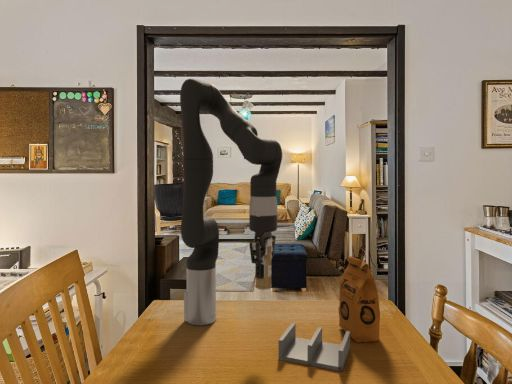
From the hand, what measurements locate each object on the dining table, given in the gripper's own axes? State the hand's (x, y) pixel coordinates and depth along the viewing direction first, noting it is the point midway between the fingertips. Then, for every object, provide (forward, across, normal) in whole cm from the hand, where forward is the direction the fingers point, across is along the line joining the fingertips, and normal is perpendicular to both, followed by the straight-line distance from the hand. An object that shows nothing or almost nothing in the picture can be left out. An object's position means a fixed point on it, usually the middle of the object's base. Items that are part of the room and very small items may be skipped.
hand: (263, 275), depth 103 cm
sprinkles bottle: (+3, 0, 0) cm, 3 cm away
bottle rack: (+19, 0, +14) cm, 24 cm away
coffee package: (+20, -17, +23) cm, 35 cm away
